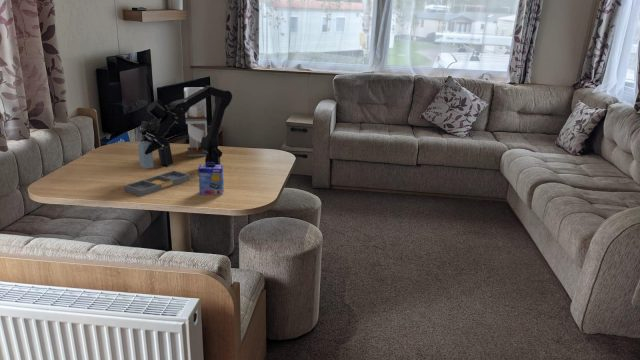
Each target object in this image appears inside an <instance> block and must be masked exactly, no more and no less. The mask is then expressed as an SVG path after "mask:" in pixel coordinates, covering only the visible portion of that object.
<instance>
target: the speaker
mask: <svg viewBox="0 0 640 360" xmlns="http://www.w3.org/2000/svg"><path fill="white" fill-rule="evenodd" d="M162 146H163V145H162ZM157 151H158V158H159V162H160V165H162V166H163V165H165V166H166V168H167V167H169V166H172V165H174V160H173V154H172V148H171V144H170V145H169V146H168V147H167V148H166V147H164V146H163V147H162V148H159V149H157Z"/></svg>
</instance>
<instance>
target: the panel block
mask: <svg viewBox="0 0 640 360" xmlns="http://www.w3.org/2000/svg"><path fill="white" fill-rule="evenodd" d="M142 141H143V140H142ZM142 141H139V142H137V147H138V157H139V166H140V167H141V168H142V169H149V168H154V156H153V152H151V153H149V154H147V155H146V154H145V151H146V150H147V148H148V146H149V145H150V142H148V141H143V142H142Z"/></svg>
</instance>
